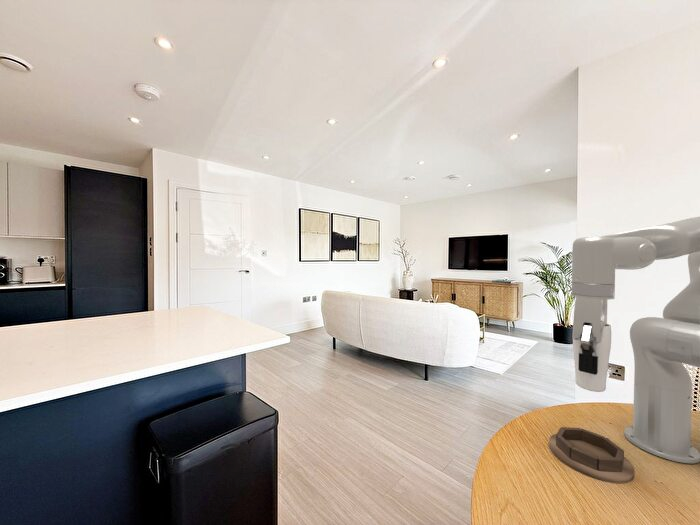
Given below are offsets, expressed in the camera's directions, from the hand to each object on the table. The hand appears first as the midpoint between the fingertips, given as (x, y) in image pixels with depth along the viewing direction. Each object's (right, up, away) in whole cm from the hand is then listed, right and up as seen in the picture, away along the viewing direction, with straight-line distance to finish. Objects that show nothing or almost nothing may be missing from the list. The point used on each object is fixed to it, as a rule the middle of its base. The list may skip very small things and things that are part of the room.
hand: (590, 367), depth 65 cm
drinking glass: (0, -5, 0) cm, 5 cm away
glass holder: (0, -21, 0) cm, 21 cm away
